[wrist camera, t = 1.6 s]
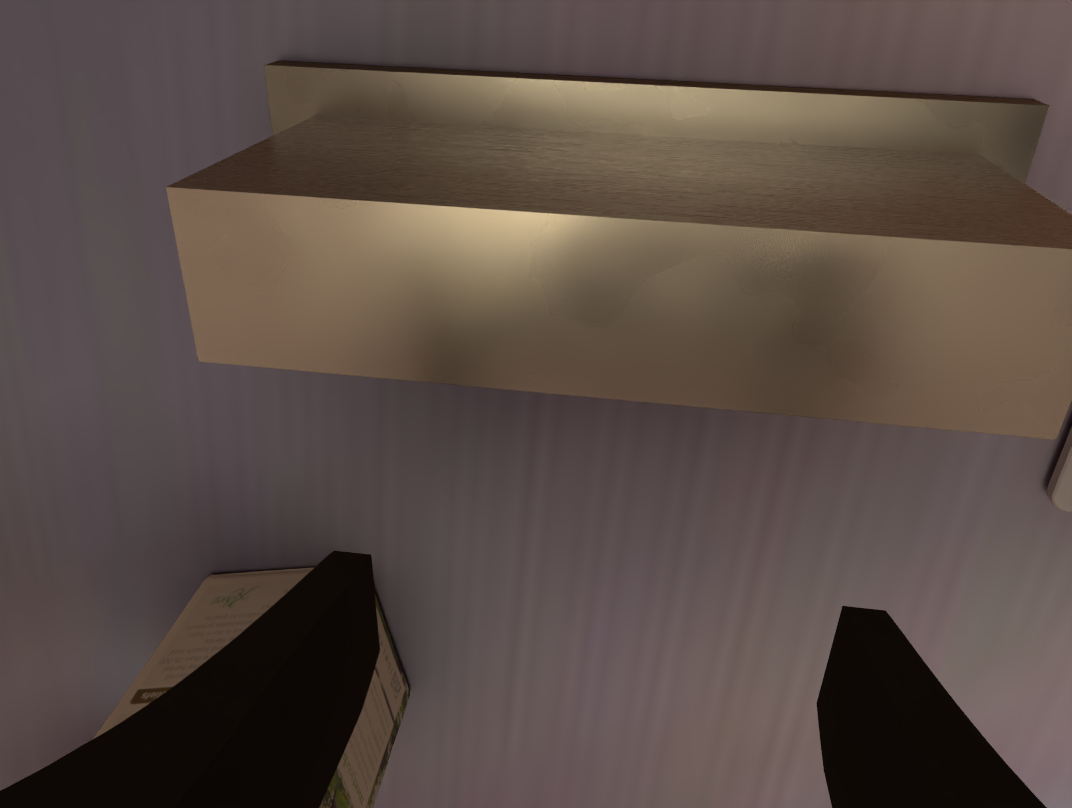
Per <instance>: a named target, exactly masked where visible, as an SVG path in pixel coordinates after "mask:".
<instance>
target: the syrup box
mask: <svg viewBox="0 0 1072 808" xmlns="http://www.w3.org/2000/svg"><path fill="white" fill-rule="evenodd" d="M312 569H313V568H300V569H285V570H271V571H257V572H245V573H230V574H220V575H210V576H209V577H208V578H206V579H205V580H204V581H203V583H202V584H201V585H200V587H199V588H198V590H197V591H196V593H195V594H194V595H193V597H192V598H191V600H190V601H189V603H188V604H187V606H186V607H185V608H184V610H183V611H182V613H181V614H180V616H179V618H178V619H177V620H176V622H175V623H174V625H173V626H172V628H171V629H170V631H169V632H168V633H167V635H166V636H165V638H164V639H163V641H162V642H161V644H160V645H159V646H158V648H157V649H156V651H155V652H154V654H153V655H152V656H151V658H150V659H149V661H148V662H147V663H146V665H145V666H144V668H143V669H142V670H141V672H140V673H139V675H138V676H137V677H136V679H135V680H134V682H133V683H132V685H131V686H130V688H129V689H128V691H127V692H126V693H125V695H124V696H123V697H122V699H121V700H120V701H119V703H118V704H117V706H116V707H115V709H114V710H113V711H112V713H111V714H110V716H109V717H108V718H107V720H106V721H105V723H104V724H103V725H102V727H101V728H100V730H99V731H98V732H97V734H96V735H95V737H94V738H96V737H98V736H100V735H101V734H103V733H105V732H106V731H108V730H110V729H111V728H113V727H114V726H116V725H118V724H119V723H121V722H122V721H124V720H125V719H127V718H128V717H130V716H131V715H133V714H134V713H136V712H137V711H139V710H140V709H142V708H143V707H145V706H146V705H148V704H149V703H151V702H152V701H154V700H155V699H157V698H158V697H159V696H161V695H162V694H164V693H165V692H166V691H168V690H169V689H171V688H172V687H173V686H175V685H176V684H177V683H179V682H180V681H181V680H183V679H184V678H185V677H187V676H188V675H189V674H191V673H192V672H193V671H194V670H196V669H197V668H198V667H199V666H201V665H202V664H203V663H204V662H206V661H207V660H208V659H210V658H211V657H212V656H213V655H215V654H216V653H217V652H218V651H220V650H221V649H222V648H224V647H225V646H226V645H227V644H228V643H230V642H231V641H232V640H233V639H234V638H236V637H237V636H238V635H239V634H240V633H242V632H243V631H244V630H245V629H246V628H247V627H248V626H250V625H251V624H252V623H253V622H254V621H255V620H257V619H258V618H259V617H260V616H261V615H262V614H264V613H265V612H266V611H267V610H268V609H269V608H270V607H272V606H273V605H274V604H275V603H276V602H277V601H278V600H279V599H280V598H282V597H283V596H284V595H285V594H286V593H287V592H288V591H289V590H290V589H292V588H293V587H294V586H295V585H296V584H297V583H298V582H299V581H300V580H301V579H303V578H304V577H305V576H306V575H307V574H308V573H309V572H310V571H311V570H312ZM375 601H376V612H377V622H378V633H379V643H380V652H379V656H378V659H377V663H376V666H375V670H374V673H373V677H372V680H371V683H370V687H369V690H368V693H367V696H366V699H365V702H364V706H363V709H362V712H361V714H360V716H359V719H358V721H357V723H356V726H355V728H354V730H353V733H352V735H351V737H350V739H349V742H348V744H347V746H346V749H345V751H344V753H343V756H342V758H341V760H340V762H339V765H338V767H337V769H336V771H335V774H334V776H333V778H332V780H331V783H330V785H329V787H328V789H327V792H326V794H325V796H324V798H323V801H322V803H321V805H320V807H319V808H373V806H374V803H375V800H376V797H377V794H378V791H379V788H380V785H381V782H382V779H383V776H384V773H385V769H386V766H387V763H388V760H389V757H390V753H391V750H392V746H393V744H394V741H395V738H396V735H397V732H398V730H399V727H400V723H401V720H402V718H403V715H404V711H405V708H406V705H407V702H408V699H409V696H410V691H409V688H408V685H407V682H406V679H405V676H404V673H403V671H402V668H401V666H400V663H399V659H398V657H397V654H396V652H395V649H394V646H393V643H392V640H391V637H390V634H389V632H388V629H387V626H386V623H385V621H384V618H383V615H382V612H381V609H380V606H379V603H378V601H377V598H376V595H375ZM94 738H93V739H94ZM93 739H92V740H93Z"/></svg>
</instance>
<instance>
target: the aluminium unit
mask: <svg viewBox="0 0 1072 808" xmlns="http://www.w3.org/2000/svg"><path fill="white" fill-rule="evenodd" d="M264 68H265V76H266V84H267V93H268V101H269V109H270V118H271V126H272V134H273V136H271V137H269V138H267V139H265V140H263V141H261V142H259V143H257V144H255V145H253V146H250V147H248V148H246V149H244V150H242V151H240V152H238V153H236V154H234V155H232V156H230V157H228V158H226V159H223V160H221V161H219V162H217V163H215V164H213V165H211V166H209V167H207V168H205V169H203V170H201V171H198V172H196V173H194V174H192V175H190V176H188V177H186V178H184V179H182V180H180V181H178V182H176V183H173V184H171V185H169V186H167V187H166V190H167V195H168V200H169V206H170V211H171V216H172V222H173V227H174V233H175V238H176V243H177V249H178V254H179V259H180V265H181V270H182V275H183V281H184V286H185V291H186V297H187V302H188V308H189V313H190V318H191V324H192V329H193V334H194V340H195V345H196V350H197V356H198V361H201V362H212V363H223V364H234V365H244V366H255V367H266V368H277V369H288V370H299V371H310V372H321V373H332V374H343V375H354V376H365V377H376V378H387V379H398V380H409V381H420V382H430V383H441V384H452V385H463V386H474V387H485V388H496V389H507V390H518V391H529V392H540V393H551V394H562V395H573V396H584V397H595V398H606V399H616V400H627V401H638V402H649V403H660V404H671V405H682V406H693V407H704V408H715V409H726V410H737V411H748V412H759V413H770V414H781V415H791V416H802V417H813V418H824V419H835V420H846V421H857V422H868V423H879V424H890V425H901V426H912V427H923V428H934V429H945V430H956V431H967V432H977V433H988V434H999V435H1010V436H1021V437H1032V438H1043V439H1054V440H1056V439H1057V436H1058V434H1059V431H1060V429H1061V426H1062V424H1063V421H1064V419H1065V416H1066V413H1067V411H1068V408H1069V406H1070V403H1071V401H1072V215H1071V214H1069V213H1068V212H1066V211H1065V210H1063V209H1062V208H1060V207H1059V206H1057V205H1056V204H1054V203H1053V202H1051V201H1050V200H1048V199H1047V198H1045V197H1044V196H1042V195H1040V194H1039V193H1037V192H1036V191H1034V190H1033V189H1031V188H1030V187H1028V186H1027V185H1025V180H1026V177H1027V174H1028V171H1029V168H1030V165H1031V161H1032V158H1033V155H1034V152H1035V149H1036V146H1037V142H1038V139H1039V136H1040V133H1041V130H1042V127H1043V123H1044V120H1045V117H1046V114H1047V111H1048V108H1049V105H1046V104H1044V103H1041V102H1039V101H1036V100H1034V99H1020V98H1000V97H981V96H961V95H942V94H922V93H902V92H883V91H863V90H844V89H824V88H805V87H785V86H765V85H746V84H726V83H707V82H687V81H668V80H648V79H628V78H609V77H589V76H570V75H550V74H530V73H511V72H491V71H472V70H452V69H433V68H413V67H393V66H374V65H354V64H335V63H315V62H296V61H276V62H273V63H270V64H266V65H264Z"/></svg>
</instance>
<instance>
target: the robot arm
mask: <svg viewBox="0 0 1072 808" xmlns="http://www.w3.org/2000/svg"><path fill="white" fill-rule="evenodd" d="M1047 495H1048V497H1049V499H1050V501H1051V502H1052V503H1053V505H1054V506H1055V507H1056V508H1058V509H1059V510H1062V511H1065V512H1072V427H1071V430H1070V432H1069V435H1068V437H1067V440H1066V442H1065V445H1064V447H1063V450H1062V452H1061V455H1060V457H1059V460H1058V462H1057V465H1056V467H1055V470H1054V472H1053V475H1052V477H1051V480H1050V482H1049V485H1048V488H1047ZM379 652H380V643H379V633H378V622H377V612H376V601H375V591H374V580H373V570H372V559H371V555H369V554H359V553H350V552H341V551H333V552H332V553H331V554H329V555H328V556H327V557H326V558H325V559H324V560H322V561H321V562H320V563H319V564H318V565H317V566H316V567H315V568H313V569H312V570H311V571H310V572H309V573H308V574H307V575H306V576H305V577H304V578H303V579H301V580H300V581H299V582H298V583H297V584H296V585H295V586H294V587H293V588H292V589H290V590H289V591H288V592H287V593H286V594H285V595H284V596H283V597H282V598H280V599H279V600H278V601H277V602H276V603H275V604H274V605H273V606H272V607H270V608H269V609H268V610H267V611H266V612H265V613H264V614H262V615H261V616H260V617H259V618H258V619H257V620H255V621H254V622H253V623H252V624H251V625H250V626H248V627H247V628H246V629H245V630H244V631H243V632H242V633H240V634H239V635H238V636H237V637H236V638H234V639H233V640H232V641H231V642H230V643H228V644H227V645H226V646H225V647H224V648H222V649H221V650H220V651H218V652H217V653H216V654H215V655H213V656H212V657H211V658H210V659H208V660H207V661H206V662H204V663H203V664H202V665H201V666H199V667H198V668H197V669H196V670H194V671H193V672H192V673H191V674H189V675H188V676H187V677H185V678H184V679H183V680H181V681H180V682H179V683H177V684H176V685H175V686H173V687H172V688H171V689H169V690H168V691H166V692H165V693H164V694H162V695H161V696H159V697H158V698H157V699H155V700H154V701H152V702H151V703H149V704H148V705H146V706H145V707H143V708H142V709H140V710H139V711H137V712H136V713H134V714H133V715H131V716H130V717H128V718H127V719H125V720H124V721H122V722H121V723H119V724H118V725H116V726H114V727H113V728H111V729H110V730H108V731H106V732H105V733H103V734H101V735H100V736H98V737H96V738H94V739H93V740H91V741H89V742H88V743H86V744H84V745H82V746H81V747H79V748H77V749H76V750H74V751H72V752H71V753H69V754H67V755H65V756H64V757H62V758H60V759H59V760H57V761H55V762H54V763H52V764H50V765H48V766H47V767H45V768H43V769H41V770H39V771H37V772H36V773H34V774H32V775H30V776H28V777H26V778H24V779H22V780H20V781H18V782H17V783H15V784H13V785H11V786H9V787H7V788H5V789H3V790H1V791H0V808H319V807H320V805H321V803H322V801H323V798H324V796H325V794H326V792H327V789H328V787H329V785H330V783H331V780H332V778H333V776H334V774H335V771H336V769H337V767H338V765H339V762H340V760H341V758H342V756H343V753H344V751H345V749H346V746H347V744H348V742H349V739H350V737H351V735H352V733H353V730H354V728H355V726H356V723H357V721H358V719H359V716H360V714H361V712H362V709H363V706H364V702H365V699H366V696H367V693H368V690H369V687H370V683H371V680H372V677H373V673H374V670H375V666H376V663H377V659H378V656H379ZM817 711H818V721H819V731H820V741H821V750H822V758H823V766H824V773H825V777H826V782H827V786H828V791H829V795H830V799H831V804H832V808H1046V807H1045V806H1044V804H1043V803H1042V802H1041V801H1040V800H1039V799H1038V798H1037V797H1036V796H1035V795H1034V794H1033V793H1032V792H1031V791H1030V790H1029V788H1028V787H1027V786H1026V785H1025V784H1024V783H1023V782H1022V781H1021V779H1020V778H1019V777H1018V776H1017V775H1016V774H1015V773H1014V772H1013V771H1012V769H1011V768H1010V767H1009V766H1008V765H1007V764H1006V763H1005V762H1004V760H1003V759H1002V758H1001V757H1000V756H999V755H998V753H997V752H996V751H995V750H994V749H993V748H992V746H991V745H990V744H989V743H988V742H987V741H986V739H985V738H984V737H983V736H982V734H981V733H980V732H979V731H978V730H977V728H976V727H975V726H974V725H973V723H972V722H971V721H970V720H969V718H968V717H967V716H966V715H965V714H964V712H963V711H962V710H961V709H960V707H959V706H958V705H957V704H956V703H955V701H954V700H953V699H952V697H951V696H950V695H949V694H948V692H947V691H946V690H945V688H944V687H943V686H942V685H941V683H940V682H939V681H938V679H937V678H936V677H935V675H934V674H933V673H932V671H931V670H930V669H929V668H928V666H927V665H926V664H925V662H924V661H923V660H922V658H921V657H920V656H919V654H918V653H917V652H916V650H915V649H914V648H913V646H912V645H911V644H910V642H909V641H908V640H907V638H906V637H905V635H904V634H903V633H902V631H901V630H900V629H899V627H898V626H897V625H896V623H895V622H894V621H893V619H892V618H891V617H890V616H889V614H888V613H887V612H886V611H884V610H874V609H865V608H856V607H847V606H842V610H841V614H840V618H839V621H838V625H837V629H836V633H835V636H834V640H833V644H832V648H831V651H830V655H829V659H828V663H827V666H826V670H825V674H824V678H823V682H822V685H821V689H820V693H819V697H818V700H817Z"/></svg>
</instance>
